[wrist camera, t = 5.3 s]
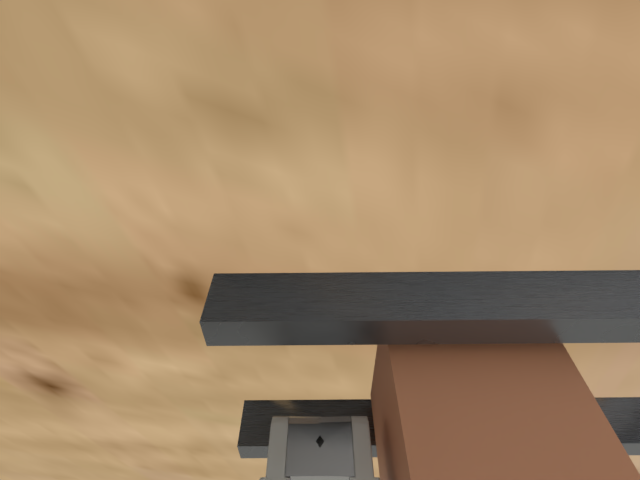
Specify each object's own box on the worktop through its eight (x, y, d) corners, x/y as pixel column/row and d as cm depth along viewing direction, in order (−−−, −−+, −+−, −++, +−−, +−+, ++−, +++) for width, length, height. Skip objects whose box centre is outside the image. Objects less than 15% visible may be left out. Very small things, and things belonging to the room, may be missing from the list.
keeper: (370, 394, 15) (392, 589, 11) (382, 309, 12) (420, 532, 8) (497, 393, 15) (573, 588, 11) (542, 308, 12) (673, 530, 8)
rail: (247, 412, 16) (225, 564, 13) (213, 273, 11) (159, 453, 8) (696, 409, 16) (815, 559, 13) (859, 268, 11) (1140, 445, 8)
